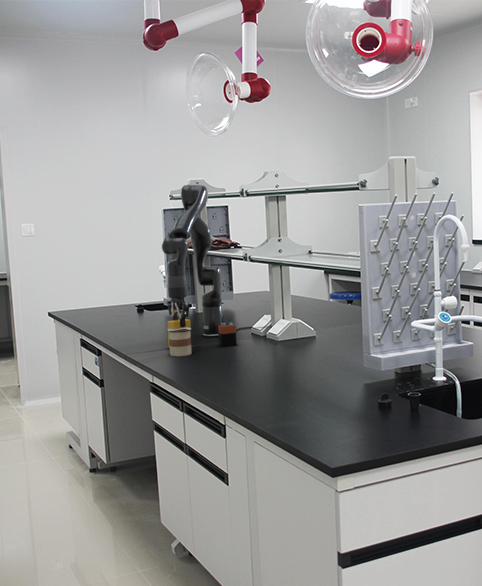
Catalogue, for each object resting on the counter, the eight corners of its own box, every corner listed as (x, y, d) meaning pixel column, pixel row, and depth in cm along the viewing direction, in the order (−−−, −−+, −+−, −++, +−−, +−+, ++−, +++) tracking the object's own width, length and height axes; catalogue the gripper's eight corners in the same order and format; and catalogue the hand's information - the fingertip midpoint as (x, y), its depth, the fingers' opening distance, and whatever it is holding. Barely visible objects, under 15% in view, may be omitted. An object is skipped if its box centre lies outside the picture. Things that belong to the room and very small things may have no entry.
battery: (218, 345, 311) (217, 323, 310) (233, 343, 314) (232, 321, 313) (222, 347, 307) (221, 324, 306) (236, 345, 310) (235, 322, 309)
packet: (184, 325, 298) (184, 318, 297) (190, 326, 294) (190, 319, 294) (167, 328, 292) (167, 321, 292) (174, 329, 289) (173, 322, 288)
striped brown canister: (184, 350, 301) (183, 326, 300) (197, 353, 294) (195, 328, 293) (164, 354, 295) (163, 329, 294) (176, 357, 288) (175, 332, 286)
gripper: (194, 286, 288) (196, 326, 290) (175, 284, 299) (178, 323, 301) (178, 287, 283) (180, 329, 285) (160, 285, 294) (162, 325, 296)
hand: (179, 326), depth 293 cm, fingers closed on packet, 5 cm apart
